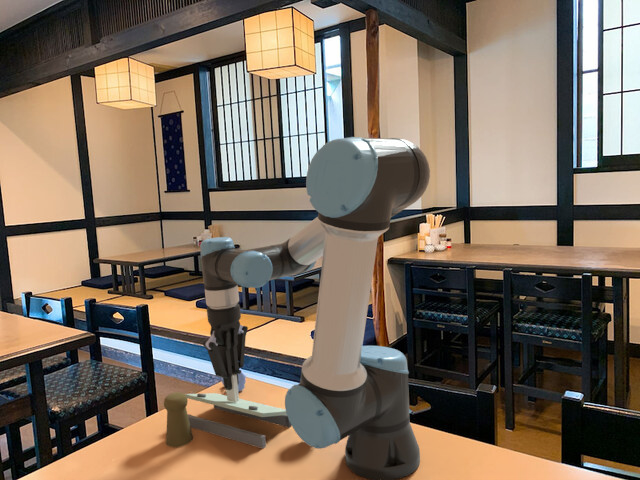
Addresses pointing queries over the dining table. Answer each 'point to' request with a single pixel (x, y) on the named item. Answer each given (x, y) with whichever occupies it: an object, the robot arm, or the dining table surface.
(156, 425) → the dining table surface
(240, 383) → the lavender lumpy chunk
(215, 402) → the lid
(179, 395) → the olive pepper mill
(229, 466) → the dining table surface
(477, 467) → the dining table surface
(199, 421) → the gray parallel rails
